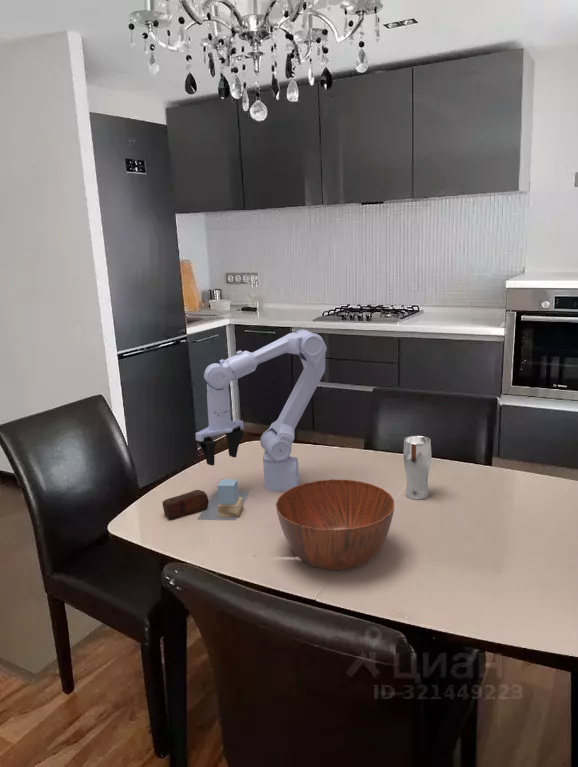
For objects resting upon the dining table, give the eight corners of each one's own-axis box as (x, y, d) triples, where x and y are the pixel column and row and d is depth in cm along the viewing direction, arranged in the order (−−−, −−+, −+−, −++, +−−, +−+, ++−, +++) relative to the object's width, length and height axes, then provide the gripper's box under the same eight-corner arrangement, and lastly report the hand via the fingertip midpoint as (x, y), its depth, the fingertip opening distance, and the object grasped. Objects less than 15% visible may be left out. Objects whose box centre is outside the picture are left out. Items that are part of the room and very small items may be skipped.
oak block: (243, 508, 151) (242, 497, 150) (238, 517, 146) (237, 506, 145) (223, 508, 151) (222, 497, 151) (218, 517, 146) (217, 505, 146)
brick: (170, 523, 146) (167, 505, 145) (164, 518, 149) (161, 500, 148) (210, 508, 151) (207, 491, 150) (203, 504, 154) (200, 487, 153)
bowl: (364, 596, 113) (363, 541, 110) (255, 564, 126) (252, 514, 123) (412, 539, 133) (412, 491, 130) (314, 516, 146) (312, 472, 144)
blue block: (223, 497, 150) (221, 479, 149) (238, 498, 150) (237, 479, 148) (219, 504, 146) (217, 485, 145) (235, 505, 146) (233, 485, 145)
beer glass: (401, 498, 154) (400, 443, 150) (406, 488, 160) (406, 434, 156) (428, 501, 151) (428, 445, 147) (433, 491, 157) (433, 436, 154)
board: (249, 494, 161) (249, 491, 161) (235, 523, 145) (235, 520, 144) (215, 493, 162) (215, 490, 162) (197, 522, 146) (197, 519, 146)
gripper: (206, 419, 146) (210, 471, 150) (250, 407, 157) (252, 456, 160) (189, 414, 151) (192, 465, 154) (232, 402, 161) (234, 450, 165)
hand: (221, 460), depth 157 cm, fingers open, 7 cm apart
